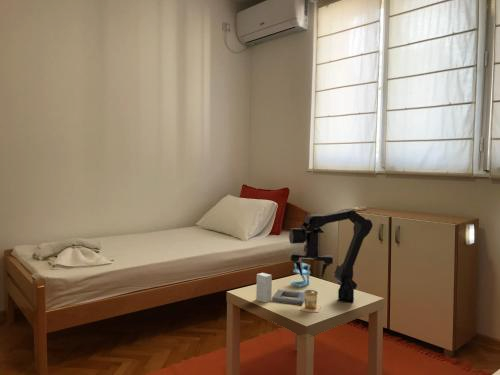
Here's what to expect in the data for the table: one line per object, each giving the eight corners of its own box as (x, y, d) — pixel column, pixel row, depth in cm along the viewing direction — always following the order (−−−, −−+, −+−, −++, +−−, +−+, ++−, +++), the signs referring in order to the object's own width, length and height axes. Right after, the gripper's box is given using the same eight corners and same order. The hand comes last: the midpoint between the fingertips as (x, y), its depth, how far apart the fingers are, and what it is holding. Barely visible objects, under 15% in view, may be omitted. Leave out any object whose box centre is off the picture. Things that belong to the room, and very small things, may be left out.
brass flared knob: (318, 306, 178) (318, 290, 177) (316, 310, 172) (316, 294, 172) (305, 304, 179) (305, 289, 179) (303, 308, 174) (303, 293, 174)
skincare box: (271, 300, 185) (272, 275, 184) (265, 303, 182) (266, 276, 181) (262, 297, 189) (262, 272, 188) (255, 299, 186) (256, 273, 185)
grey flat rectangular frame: (307, 296, 191) (307, 292, 191) (302, 305, 180) (302, 301, 180) (278, 293, 196) (278, 289, 195) (272, 301, 184) (272, 297, 184)
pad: (321, 306, 178) (321, 305, 178) (318, 312, 171) (318, 311, 171) (303, 304, 181) (303, 303, 181) (299, 310, 173) (299, 309, 173)
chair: (312, 285, 209) (313, 262, 209) (300, 287, 205) (300, 264, 204) (302, 281, 216) (303, 259, 215) (290, 283, 211) (291, 260, 211)
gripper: (334, 240, 187) (334, 273, 188) (294, 238, 192) (294, 270, 193) (333, 245, 176) (332, 280, 178) (290, 242, 181) (290, 277, 182)
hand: (311, 276), depth 183 cm, fingers open, 9 cm apart
